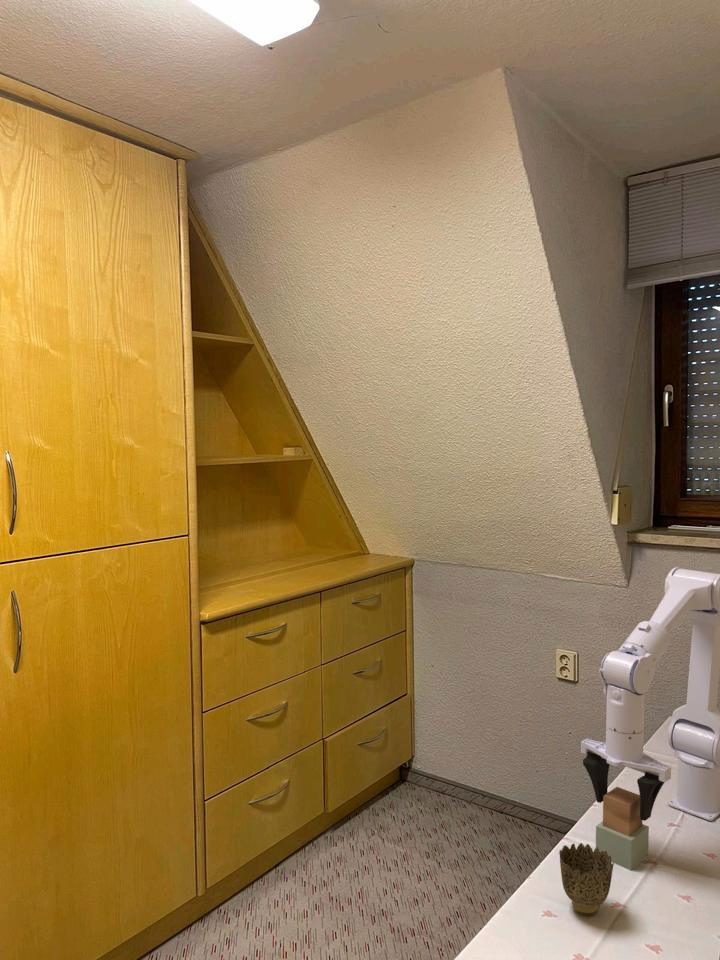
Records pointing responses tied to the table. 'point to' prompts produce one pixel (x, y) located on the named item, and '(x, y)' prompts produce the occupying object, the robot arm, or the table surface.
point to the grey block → (623, 845)
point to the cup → (585, 877)
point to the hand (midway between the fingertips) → (623, 808)
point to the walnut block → (622, 811)
